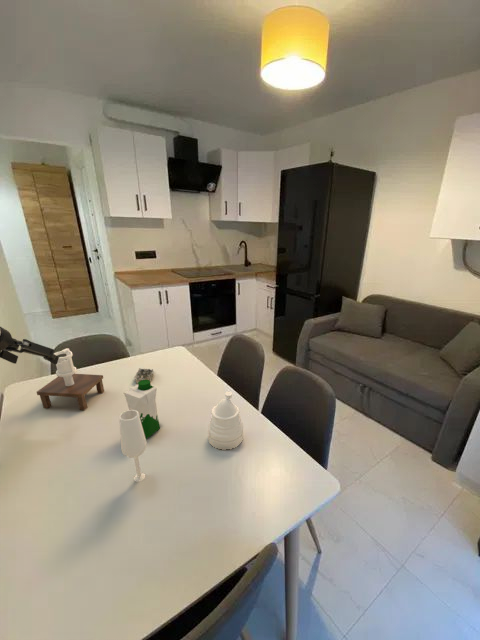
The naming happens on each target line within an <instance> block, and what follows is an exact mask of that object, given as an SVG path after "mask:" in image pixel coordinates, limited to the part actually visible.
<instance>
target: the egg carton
mask: <svg viewBox="0 0 480 640" xmlns="http://www.w3.org/2000/svg"><path fill="white" fill-rule="evenodd" d="M153 376H154V369H153V368H152V369H151V368H141V367H140V368H138V370H137V372H136V374H135V375H134V377H133V378H134V381H135V383H136V385H138V382H139V381H141V380H150V384H151V383H152V379H153Z"/></svg>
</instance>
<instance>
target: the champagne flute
mask: <svg viewBox="0 0 480 640" xmlns="http://www.w3.org/2000/svg"><path fill="white" fill-rule="evenodd" d="M118 418H119V434H120V448H121V453H122V454H123V455H124V456H125V457H127V458H132V459H134V465H135V471H136V475H134V477H133V480H134V481H135V482H142V481H143V480H144V479H146V474H145V473H143V472H142V470H141V463H140V458H139V457H140V456H142V455H143V454H144V452H145V451H146V450H147V447H148V441H147V439H146V438H145V435H144V431H143V427H142V424H141V420H140V417H139V413H138V411H136V410H129V409H127V410H125V411H123V412H121V413H120V414H119V417H118Z"/></svg>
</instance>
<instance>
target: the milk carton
mask: <svg viewBox="0 0 480 640" xmlns="http://www.w3.org/2000/svg"><path fill="white" fill-rule="evenodd" d="M123 395H124V397H125V401H126V403H127V407H128V410H136V411H138V413H139V417H140V420H141V424H142V427H143V431H144V435H145V438H146V440H148V439H149V438H150V437H151V436H153V435H154V434H155V433H157V432H158V431H159V430H161V426H160V425H161V424H160V421H159V415H158V407H157V387H156V386H153V385H152V384H151V383H150V380H141V381H139V382H138V384H135V385H134V386H132V387H129V389H127V390H126V391H124V392H123Z"/></svg>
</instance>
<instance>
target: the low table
mask: <svg viewBox="0 0 480 640" xmlns="http://www.w3.org/2000/svg"><path fill="white" fill-rule="evenodd" d="M72 377H73V381H74V385H72V386H66V385H65V381H64V377H59V376H56V378H54V379H52V380H51V381H50V382H48V383H47V384H45V385H44V386H43V387H41V388H39V390H37V391H36V395H37V396H39V397H40V401H41V403H42V408H43V409H49V408H51V407H52V401H51V399H50V397H62V398H63V397H64V398H76V399H77V404H78V409H79V411H86V410H87V409H88V407H89V406H88V403H87V400H86V394H88V393H89V392H90V391H91V390H92V389H93V388H94V387H95V388H96V392H97V394H103V393H104V392H105V387H104V383H103V379H104V375H103V374H88V373H75V374H73V375H72Z"/></svg>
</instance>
